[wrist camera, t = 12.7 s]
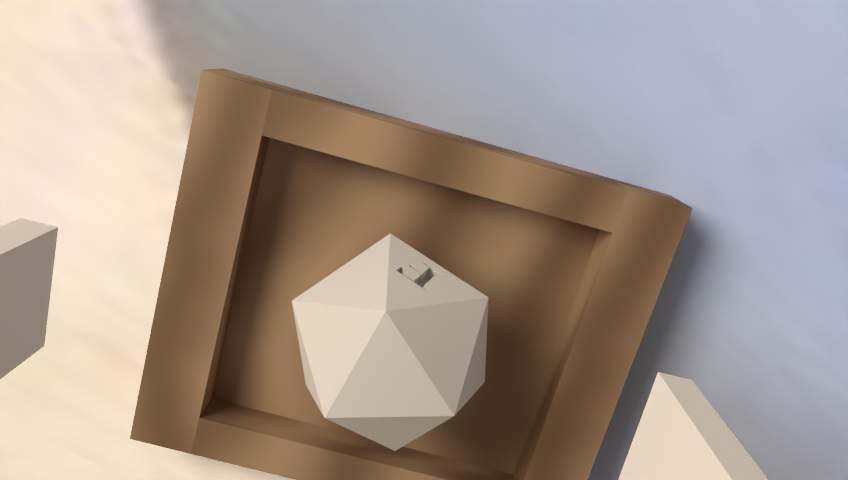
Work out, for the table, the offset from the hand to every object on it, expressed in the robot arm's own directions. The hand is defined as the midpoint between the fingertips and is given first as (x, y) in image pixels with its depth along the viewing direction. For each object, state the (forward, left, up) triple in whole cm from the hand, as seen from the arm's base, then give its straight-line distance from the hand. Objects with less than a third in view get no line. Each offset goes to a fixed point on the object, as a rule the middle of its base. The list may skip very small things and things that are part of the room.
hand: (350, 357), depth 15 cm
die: (-2, +6, -19) cm, 20 cm away
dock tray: (-2, +6, -20) cm, 21 cm away
